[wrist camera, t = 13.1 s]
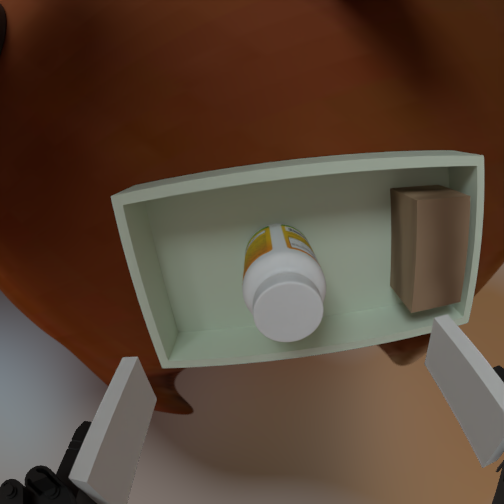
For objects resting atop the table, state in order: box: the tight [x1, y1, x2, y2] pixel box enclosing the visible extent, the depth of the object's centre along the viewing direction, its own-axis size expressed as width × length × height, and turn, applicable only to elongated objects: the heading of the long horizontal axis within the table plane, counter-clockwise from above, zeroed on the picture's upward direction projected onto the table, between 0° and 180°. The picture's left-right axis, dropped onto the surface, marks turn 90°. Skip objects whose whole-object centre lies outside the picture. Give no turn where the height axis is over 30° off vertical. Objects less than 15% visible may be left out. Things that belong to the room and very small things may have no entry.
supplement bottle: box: [242, 223, 326, 342], centre depth 22 cm, size 5×5×10 cm
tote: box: [111, 150, 484, 368], centre depth 25 cm, size 28×15×5 cm, turn 98°
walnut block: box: [390, 185, 471, 313], centre depth 23 cm, size 5×9×5 cm, turn 8°
